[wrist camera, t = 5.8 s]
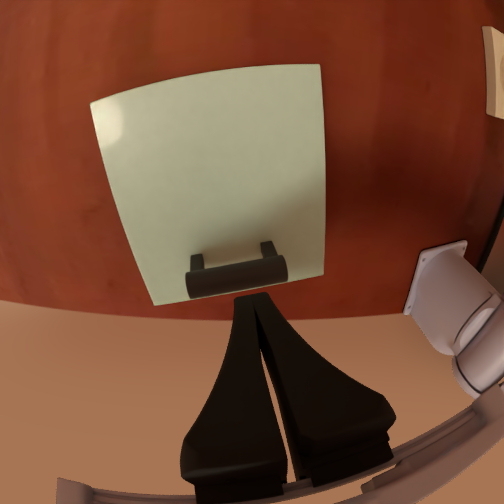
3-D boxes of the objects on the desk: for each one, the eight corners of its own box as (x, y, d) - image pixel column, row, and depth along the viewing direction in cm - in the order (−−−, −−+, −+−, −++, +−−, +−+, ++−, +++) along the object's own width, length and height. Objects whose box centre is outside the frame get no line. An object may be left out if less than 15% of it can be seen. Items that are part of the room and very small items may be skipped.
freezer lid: (320, 268, 19) (341, 305, 16) (155, 298, 18) (149, 341, 15) (315, 64, 12) (348, 61, 9) (94, 101, 11) (62, 109, 8)
